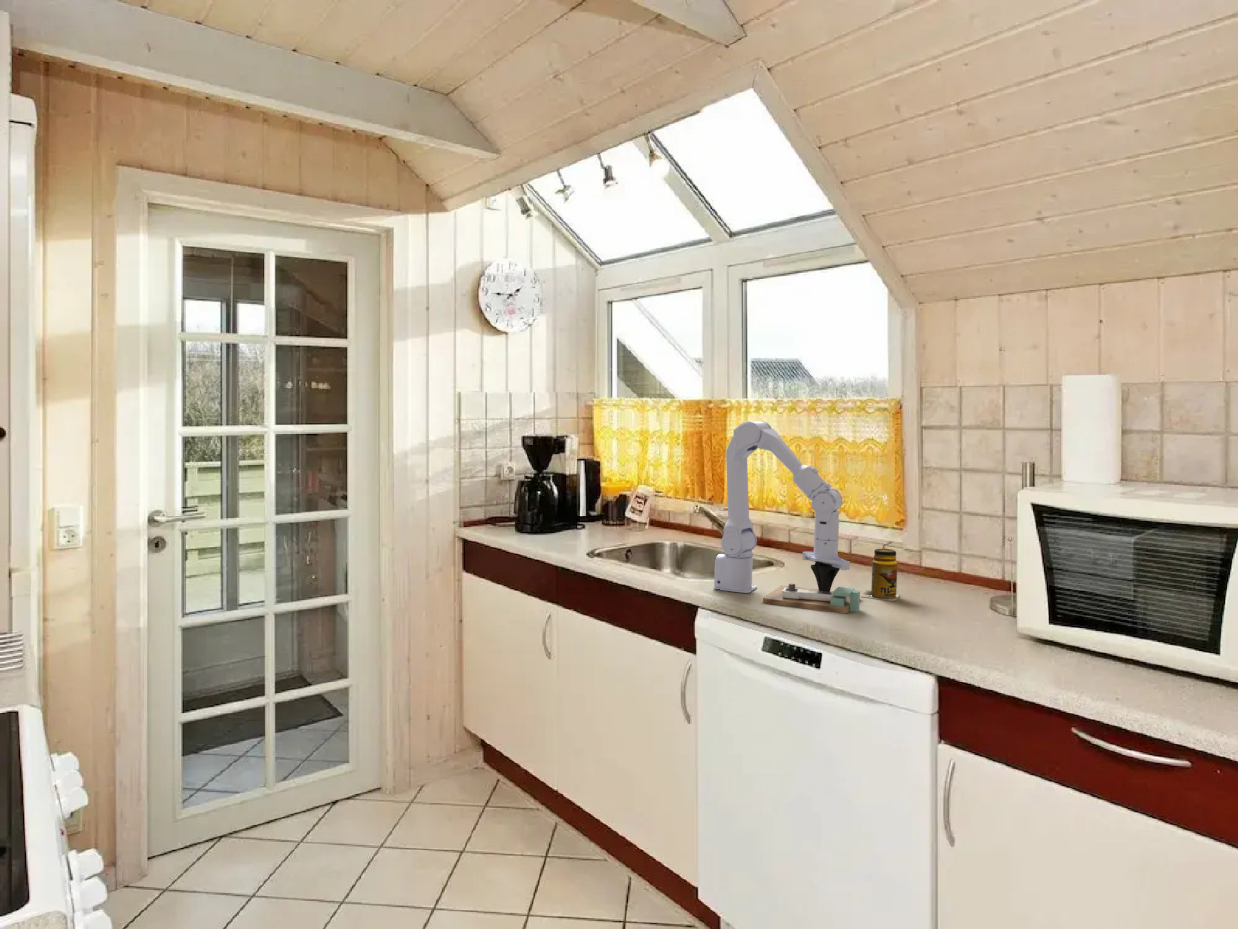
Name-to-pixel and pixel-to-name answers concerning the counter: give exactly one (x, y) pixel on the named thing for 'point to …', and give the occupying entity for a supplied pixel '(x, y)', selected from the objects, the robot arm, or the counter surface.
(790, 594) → the link
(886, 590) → the condiment
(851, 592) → the keeper
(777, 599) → the board
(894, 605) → the counter surface
